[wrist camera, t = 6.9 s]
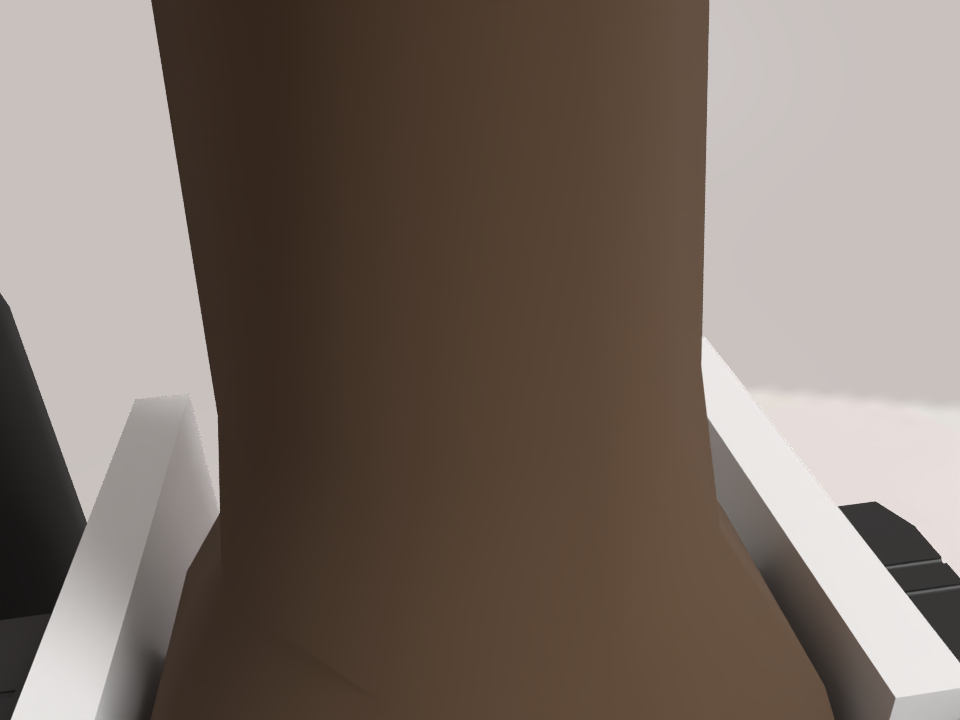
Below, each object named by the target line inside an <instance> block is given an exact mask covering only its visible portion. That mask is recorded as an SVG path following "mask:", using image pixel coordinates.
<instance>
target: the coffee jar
mask: <svg viewBox="0 0 960 720" xmlns="http://www.w3.org/2000/svg"><path fill="white" fill-rule="evenodd" d="M86 525H87V522H86V519H85V516H84V513H83V511H82V508H81V505H80V502H79V500H78V497H77V494H76V491H75V488H74V486H73V483H72V480H71V477H70V475H69V472H68V469H67V466H66V464H65V460H64V458H63V455H62V452H61V449H60V446H59V444H58V441H57V438H56V435H55V432H54V430H53V427H52V424H51V421H50V419H49V416H48V413H47V410H46V408H45V405H44V402H43V399H42V396H41V393H40V391H39V388H38V385H37V383H36V380H35V377H34V374H33V371H32V368H31V366H30V363H29V360H28V357H27V354H26V352H25V349H24V346H23V343H22V340H21V338H20V335H19V332H18V329H17V326H16V324H15V321H14V318H13V316H12V312H11V310H10V307H9V305H8V304H7V302H6V301H5V300H4V298H3V296H2V295H1V294H0V620H6V619H13V618H21V617H28V616H36V615H44V614H51V613H52V612H53V610H54V607H55V605H56V602H57V600H58V597H59V594H60V592H61V589H62V587H63V584H64V582H65V579H66V576H67V574H68V571H69V569H70V566H71V564H72V561H73V559H74V556H75V553H76V551H77V548H78V546H79V543H80V541H81V538H82V535H83V533H84V530H85V528H86Z"/></svg>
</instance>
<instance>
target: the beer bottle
mask: <svg viewBox="0 0 960 720" xmlns="http://www.w3.org/2000/svg"><path fill="white" fill-rule="evenodd" d="M151 2H152V8H153V14H154V20H155V27H156V33H157V39H158V45H159V52H160V58H161V64H162V70H163V77H164V83H165V89H166V95H167V102H168V107H169V113H170V120H171V127H172V133H173V139H174V145H175V151H176V158H177V164H178V170H179V176H180V183H181V189H182V195H183V201H184V207H185V214H186V220H187V226H188V233H189V239H190V245H191V251H192V258H193V264H194V270H195V276H196V283H197V289H198V295H199V301H200V307H201V314H202V320H203V326H204V333H205V339H206V344H207V351H208V357H209V364H210V370H211V376H212V383H213V388H214V395H215V401H216V407H217V413H218V438H219V439H218V441H219V485H220V513H219V515H218V517H217V519H216V521H215V522H214V524H213V526H212V528H211V529H210V531H209V533H208V535H207V537H206V538H205V540H204V542H203V544H202V545H201V547H200V549H199V551H198V552H197V554H196V556H195V558H194V560H193V561H192V563H191V565H190V567H189V568H188V570H187V573H186V577H185V581H184V585H183V589H182V593H181V597H180V601H179V605H178V609H177V613H176V617H175V622H174V626H173V630H172V634H171V638H170V642H169V646H168V650H167V654H166V658H165V662H164V666H163V670H162V675H161V679H160V683H159V687H158V691H157V695H156V699H155V703H154V707H153V711H152V715H151V719H150V720H835V719H834V716H833V712H832V709H831V705H830V702H829V699H828V695H827V692H826V689H825V686H824V684H823V682H822V680H821V679H820V677H819V675H818V673H817V672H816V670H815V668H814V666H813V665H812V663H811V661H810V659H809V658H808V656H807V654H806V652H805V651H804V649H803V647H802V645H801V644H800V642H799V640H798V638H797V637H796V635H795V633H794V631H793V630H792V628H791V626H790V624H789V623H788V621H787V619H786V618H785V616H784V614H783V612H782V611H781V609H780V607H779V605H778V604H777V602H776V600H775V598H774V597H773V595H772V593H771V591H770V590H769V588H768V586H767V584H766V583H765V581H764V579H763V577H762V576H761V574H760V572H759V570H758V569H757V567H756V565H755V563H754V562H753V560H752V558H751V556H750V555H749V553H748V551H747V549H746V548H745V546H744V544H743V542H742V541H741V539H740V537H739V535H738V534H737V532H736V530H735V528H734V527H733V525H732V523H731V521H730V520H729V518H728V516H727V514H726V513H725V511H724V509H723V508H722V506H721V505H720V503H719V502H718V501H717V497H716V488H715V479H714V471H713V462H712V454H711V445H710V436H709V428H708V419H707V410H706V402H705V393H704V385H703V376H702V367H701V360H702V313H703V266H704V221H705V220H704V219H705V215H704V214H705V174H706V126H707V80H708V33H709V0H151Z"/></svg>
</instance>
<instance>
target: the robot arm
mask: <svg viewBox="0 0 960 720" xmlns="http://www.w3.org/2000/svg"><path fill="white" fill-rule="evenodd" d="M701 367H702V376H703V385H704V393H705V402H706V410H707V419H708V428H709V436H710V445H711V454H712V462H713V471H714V479H715V488H716V497H717V501H718V502H719V503H720V505H721V506H722V508H723V509H724V511H725V513H726V514H727V516H728V518H729V520H730V521H731V523H732V525H733V527H734V528H735V530H736V532H737V534H738V535H739V537H740V539H741V541H742V542H743V544H744V546H745V548H746V549H747V551H748V553H749V555H750V556H751V558H752V560H753V562H754V563H755V565H756V567H757V569H758V570H759V572H760V574H761V576H762V577H763V579H764V581H765V583H766V584H767V586H768V588H769V590H770V591H771V593H772V595H773V597H774V598H775V600H776V602H777V604H778V605H779V607H780V609H781V611H782V612H783V614H784V616H785V618H786V619H787V621H788V623H789V624H790V626H791V628H792V630H793V631H794V633H795V635H796V637H797V638H798V640H799V642H800V644H801V645H802V647H803V649H804V651H805V652H806V654H807V656H808V658H809V659H810V661H811V663H812V665H813V666H814V668H815V670H816V672H817V673H818V675H819V677H820V679H821V680H822V682H823V684H824V686H825V689H826V692H827V695H828V699H829V702H830V705H831V709H832V712H833V716H834V719H835V720H960V578H959V577H958V575H957V574H956V573H955V572H954V571H953V570H952V569H951V567H950V566H949V565H948V564H947V563H944V564H943V562H942V560H941V556H940V555H939V554H938V553H937V551H936V550H935V549H934V548H933V547H932V546H931V545H930V543H929V542H928V541H927V540H926V539H925V538H924V537H923V535H922V534H921V533H920V532H919V531H918V530H917V529H916V527H915V526H913V525H912V524H910V523H909V522H907V521H906V520H904V519H902V518H901V517H899V516H898V515H896V514H895V513H893V512H891V511H890V510H888V509H887V508H885V507H884V506H882V505H880V504H879V503H877V502H868V503H860V504H853V505H845V506H837V505H836V504H835V503H834V501H833V500H832V499H831V497H830V496H829V495H828V494H827V492H826V491H825V490H824V488H823V487H822V486H821V485H820V483H819V482H818V481H817V479H816V478H815V477H814V476H813V474H812V473H811V472H810V471H809V469H808V468H807V467H806V465H805V464H804V463H803V462H802V460H801V459H800V458H799V456H798V455H797V454H796V453H795V451H794V450H793V449H792V447H791V446H790V445H789V444H788V442H787V441H786V440H785V439H784V437H783V436H782V435H781V433H780V432H779V431H778V430H777V428H776V427H775V426H774V424H773V423H772V422H771V421H770V419H769V418H768V417H767V415H766V414H765V413H764V412H763V410H762V409H761V408H760V407H759V405H758V404H757V403H756V401H755V400H754V399H753V398H752V396H751V395H750V394H749V392H748V391H747V390H746V389H745V387H744V386H743V385H742V384H741V382H740V381H739V380H738V378H737V377H736V376H735V375H734V373H733V372H732V371H731V369H730V368H729V367H728V366H727V364H726V363H725V362H724V361H723V359H722V358H721V357H720V355H719V354H718V353H717V351H716V350H715V349H714V348H713V346H712V345H711V344H710V343H709V341H708V340H707V339H706V337H702V360H701ZM218 515H219V510H218V506H217V502H216V498H215V494H214V490H213V486H212V482H211V478H210V474H209V470H208V466H207V463H206V458H205V454H204V450H203V447H202V443H201V439H200V435H199V431H198V427H197V423H196V419H195V415H194V411H193V407H192V403H191V400H190V395H189V394H183V395H174V396H165V397H156V398H147V399H137V400H135V402H134V404H133V407H132V410H131V412H130V415H129V417H128V420H127V423H126V425H125V428H124V430H123V433H122V435H121V438H120V440H119V443H118V446H117V448H116V451H115V453H114V456H113V459H112V461H111V463H110V466H109V469H108V471H107V474H106V476H105V479H104V481H103V484H102V487H101V489H100V492H99V495H98V497H97V499H96V502H95V505H94V507H93V510H92V513H91V515H90V517H89V520H88V523H87V525H86V528H85V530H84V533H83V535H82V538H81V541H80V543H79V546H78V548H77V551H76V553H75V556H74V559H73V561H72V564H71V566H70V569H69V571H68V574H67V576H66V579H65V582H64V584H63V587H62V589H61V592H60V594H59V597H58V600H57V602H56V605H55V607H54V610H53V612H52V613H51V614H44V615H36V616H28V617H21V618H13V619H6V620H0V720H150V719H151V715H152V711H153V707H154V703H155V699H156V695H157V691H158V687H159V683H160V679H161V675H162V670H163V666H164V662H165V658H166V654H167V650H168V646H169V642H170V638H171V634H172V630H173V626H174V622H175V617H176V613H177V609H178V605H179V601H180V597H181V593H182V589H183V585H184V581H185V577H186V573H187V570H188V568H189V567H190V565H191V563H192V561H193V560H194V558H195V556H196V554H197V552H198V551H199V549H200V547H201V545H202V544H203V542H204V540H205V538H206V537H207V535H208V533H209V531H210V529H211V528H212V526H213V524H214V522H215V521H216V519H217V517H218Z"/></svg>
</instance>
